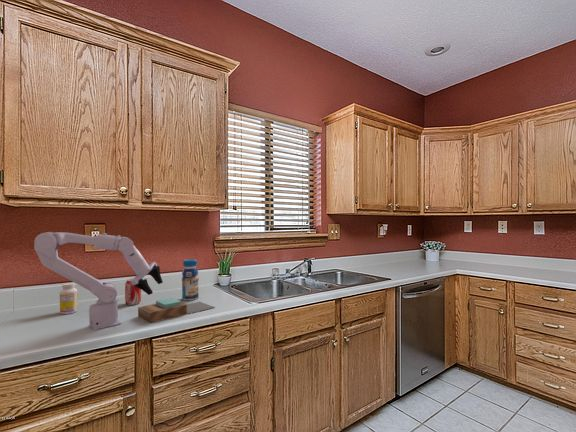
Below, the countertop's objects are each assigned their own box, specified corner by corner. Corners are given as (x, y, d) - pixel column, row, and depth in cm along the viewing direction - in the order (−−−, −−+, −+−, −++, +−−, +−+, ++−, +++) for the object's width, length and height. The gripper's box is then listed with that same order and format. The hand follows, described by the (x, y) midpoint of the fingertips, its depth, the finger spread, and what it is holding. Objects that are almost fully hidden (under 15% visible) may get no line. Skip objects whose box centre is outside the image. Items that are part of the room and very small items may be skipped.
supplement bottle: (68, 309, 144) (68, 282, 144) (81, 310, 143) (81, 282, 143) (55, 314, 137) (55, 285, 137) (69, 314, 136) (68, 285, 136)
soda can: (121, 305, 150) (121, 280, 150) (133, 301, 157) (132, 277, 157) (133, 306, 148) (133, 281, 148) (144, 302, 155) (144, 278, 155)
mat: (189, 314, 135) (189, 313, 135) (174, 307, 145) (174, 307, 145) (214, 307, 144) (214, 307, 144) (199, 302, 154) (199, 301, 154)
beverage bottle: (188, 296, 167) (188, 258, 167) (202, 297, 164) (201, 259, 164) (178, 300, 159) (178, 260, 159) (192, 301, 156) (191, 261, 156)
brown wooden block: (149, 323, 124) (149, 313, 124) (138, 316, 132) (138, 307, 132) (186, 313, 135) (186, 304, 135) (174, 308, 144) (174, 299, 144)
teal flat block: (164, 308, 130) (164, 304, 130) (156, 304, 136) (155, 300, 136) (180, 305, 135) (180, 301, 135) (171, 301, 141) (171, 297, 141)
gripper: (133, 268, 121) (152, 296, 125) (154, 250, 134) (171, 276, 138) (120, 274, 123) (140, 300, 127) (142, 256, 137) (160, 280, 140)
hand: (155, 288), depth 133 cm, fingers open, 7 cm apart
